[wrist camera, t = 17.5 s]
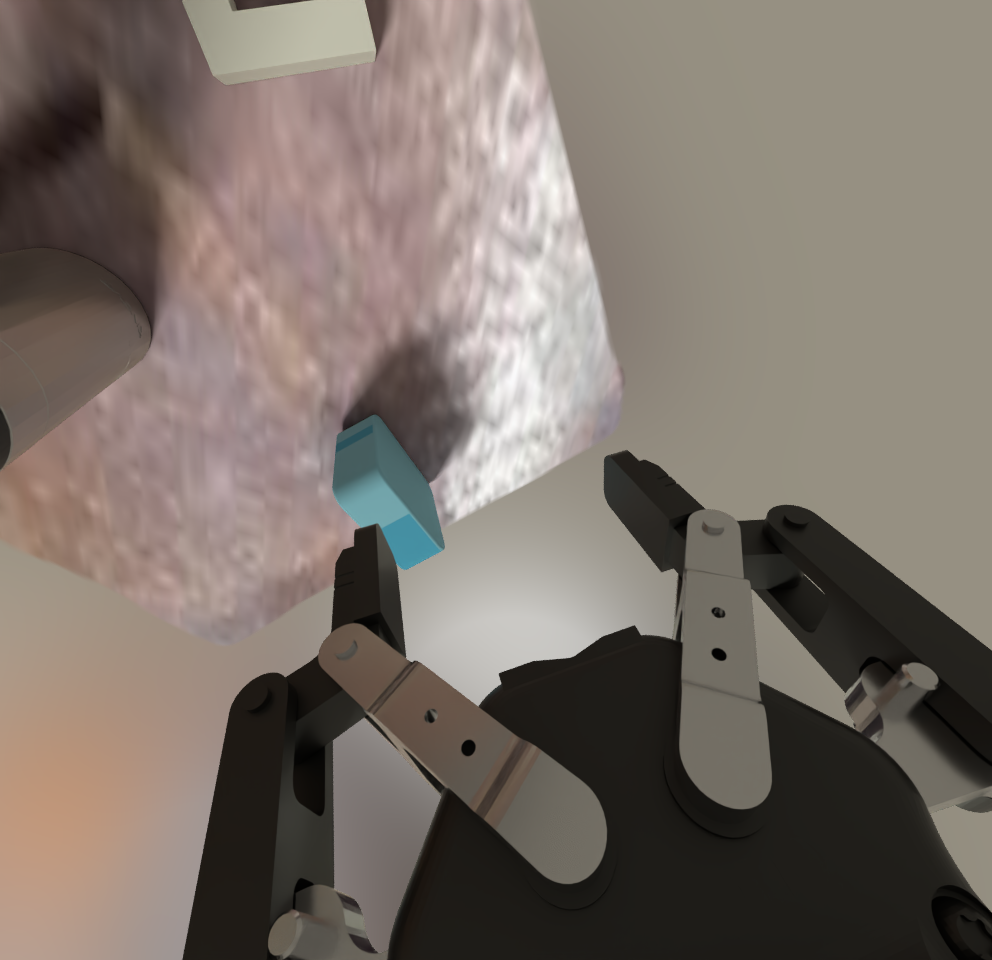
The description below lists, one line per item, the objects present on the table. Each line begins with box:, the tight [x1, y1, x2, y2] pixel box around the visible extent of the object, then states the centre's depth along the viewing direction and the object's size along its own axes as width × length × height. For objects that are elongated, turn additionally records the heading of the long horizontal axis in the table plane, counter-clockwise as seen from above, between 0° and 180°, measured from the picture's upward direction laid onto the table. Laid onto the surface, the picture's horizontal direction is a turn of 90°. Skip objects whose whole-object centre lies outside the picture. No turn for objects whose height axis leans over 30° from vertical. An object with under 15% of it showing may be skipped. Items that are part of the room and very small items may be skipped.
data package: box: [332, 415, 445, 570], centre depth 41 cm, size 12×4×12 cm, turn 24°
